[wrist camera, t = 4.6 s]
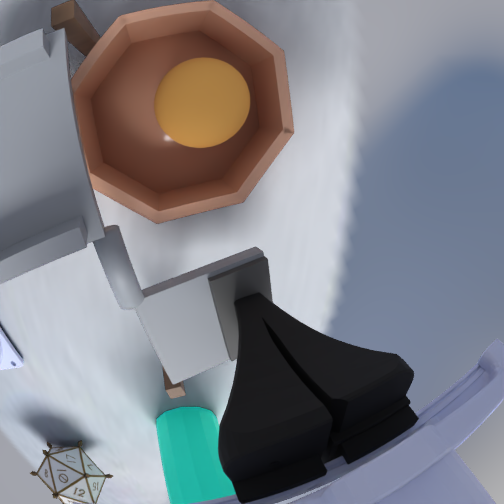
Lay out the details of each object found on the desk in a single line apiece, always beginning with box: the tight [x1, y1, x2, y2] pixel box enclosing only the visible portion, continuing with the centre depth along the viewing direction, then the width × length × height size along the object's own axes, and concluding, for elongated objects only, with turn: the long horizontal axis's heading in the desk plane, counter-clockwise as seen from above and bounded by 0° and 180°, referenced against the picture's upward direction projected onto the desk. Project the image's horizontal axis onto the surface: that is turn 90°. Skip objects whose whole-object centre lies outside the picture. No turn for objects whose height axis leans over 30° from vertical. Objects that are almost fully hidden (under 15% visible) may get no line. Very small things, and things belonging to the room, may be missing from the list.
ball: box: [154, 57, 250, 148], centre depth 11 cm, size 4×4×4 cm
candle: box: [156, 407, 236, 504], centre depth 18 cm, size 6×6×12 cm
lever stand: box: [51, 0, 186, 399], centre depth 10 cm, size 9×17×6 cm, turn 8°
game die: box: [30, 440, 113, 504], centre depth 18 cm, size 9×8×10 cm
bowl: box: [71, 0, 294, 224], centre depth 11 cm, size 9×9×4 cm
